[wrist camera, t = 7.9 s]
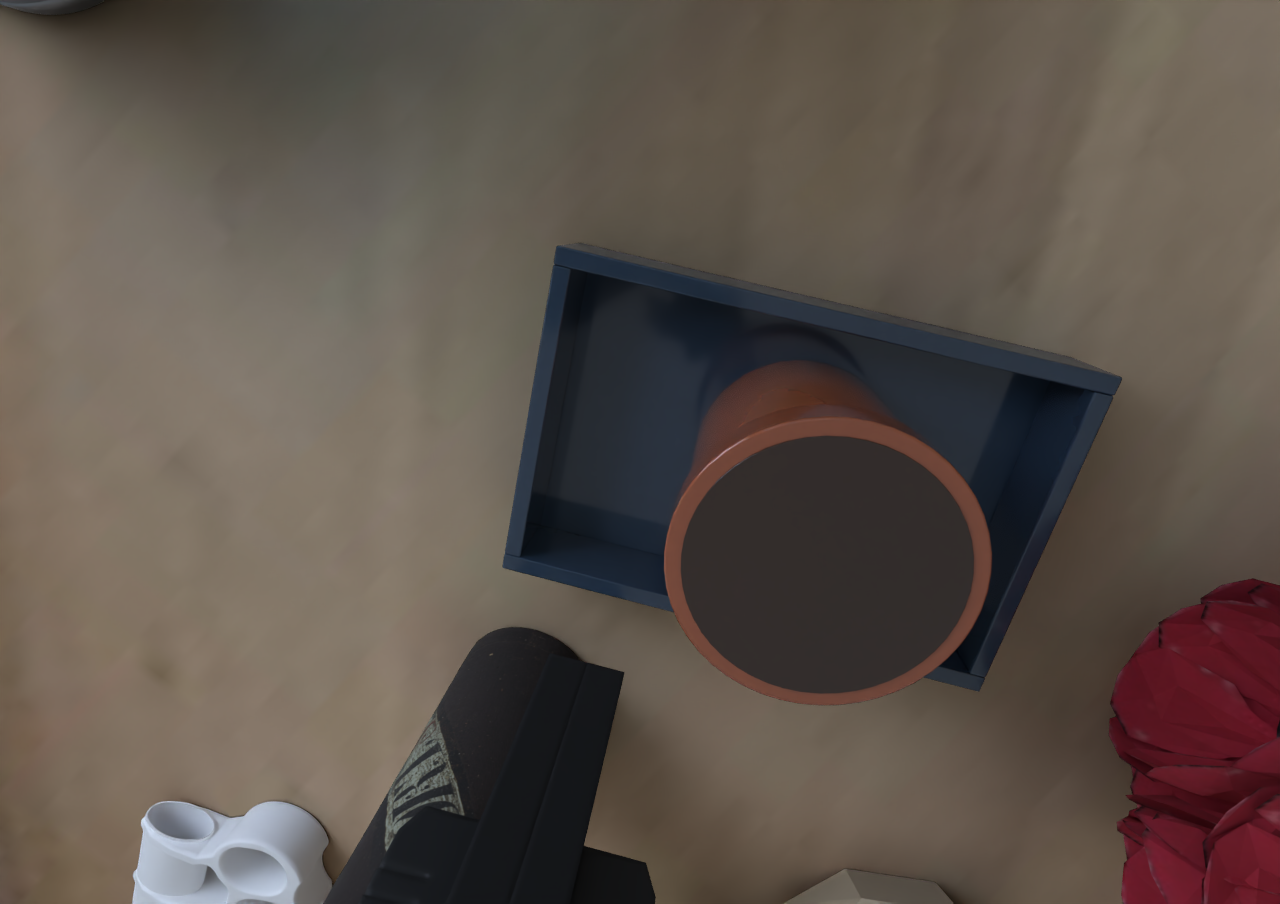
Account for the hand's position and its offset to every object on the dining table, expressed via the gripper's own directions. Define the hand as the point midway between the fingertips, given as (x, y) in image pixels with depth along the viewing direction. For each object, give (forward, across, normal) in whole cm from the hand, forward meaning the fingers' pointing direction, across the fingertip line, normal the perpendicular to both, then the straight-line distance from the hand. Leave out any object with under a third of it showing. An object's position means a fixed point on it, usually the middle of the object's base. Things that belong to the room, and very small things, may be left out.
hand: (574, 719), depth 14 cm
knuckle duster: (+23, -22, -42) cm, 52 cm away
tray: (+23, +6, -1) cm, 24 cm away
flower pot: (+20, 0, -1) cm, 20 cm away
